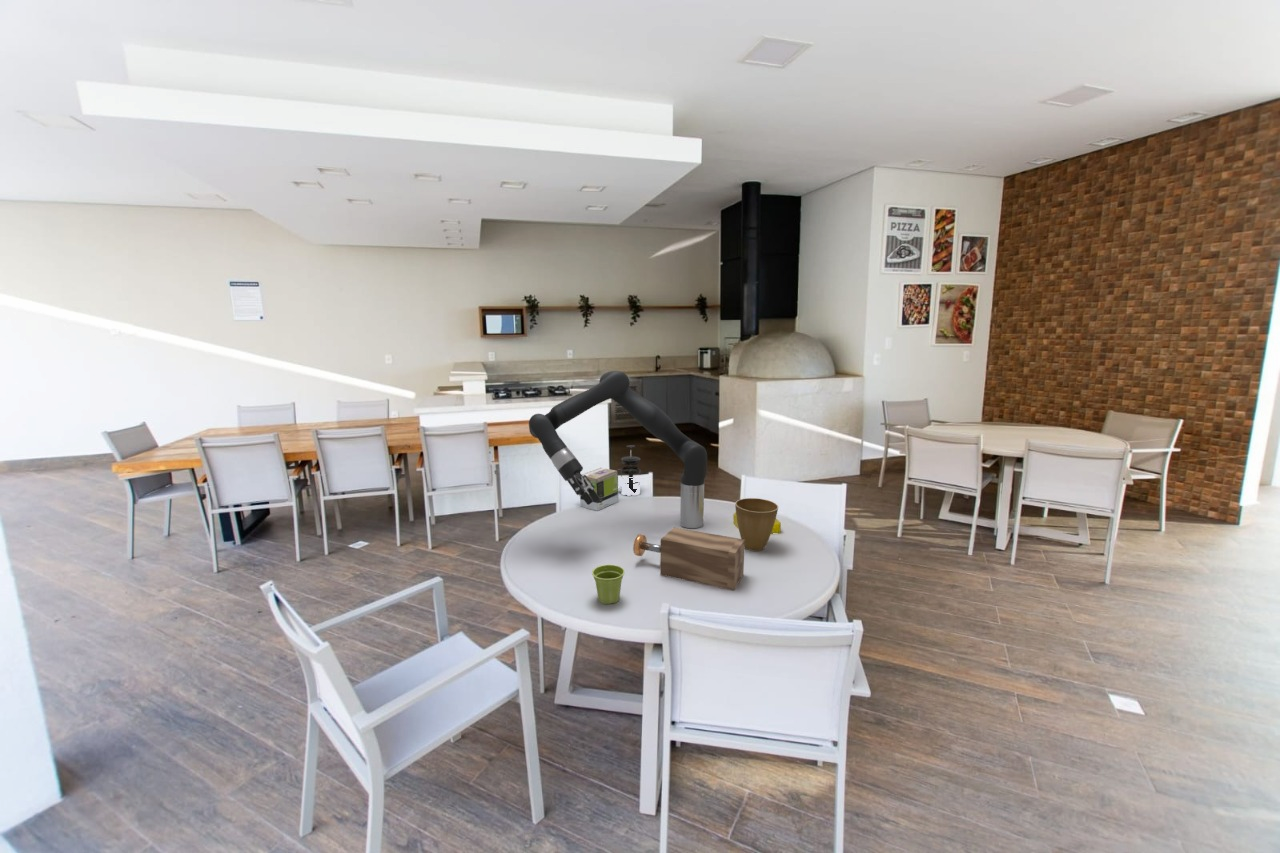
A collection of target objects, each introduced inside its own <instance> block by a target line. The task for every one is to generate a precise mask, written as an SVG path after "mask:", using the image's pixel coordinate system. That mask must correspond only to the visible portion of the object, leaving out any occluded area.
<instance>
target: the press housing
mask: <svg viewBox="0 0 1280 853" xmlns="http://www.w3.org/2000/svg"><path fill="white" fill-rule="evenodd" d="M660 545H661V553H660V560H659V561H660V562H659V563H660V568H659V570H660V576H665V577H671V578H673V579H678V580H684V581H688V582H693V583H698V584H703V585H705V586H706V585H707V586H710V587H711V586H712V587H716V588H721V589H724V590H729V591H734V590H735V589H736V588H737V586H738V584H739V583H740V581H741V579H742V578H743V577H744V567H745V540H744V539H741V538H737V537H731V536H725V535H720V534H715V533H710V532H703V531H699V530H698V531H696V530H692V529H687V528H686V529H685V528H679V527H673V528H671V529H670V530H669V531H668V532H667V533H666V534H664V536H662V538H660Z"/></svg>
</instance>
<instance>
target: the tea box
mask: <svg viewBox="0 0 1280 853" xmlns="http://www.w3.org/2000/svg"><path fill="white" fill-rule="evenodd" d="M581 475H582V476H584V475H586V476H587V478H588V479H589V480H590V482H591V483H592V484H593V486H594V487H595V488H594V489H595V490H594V491H595V492H596V493H597V495H598V496H599V498H600V500H599V501H598V502H596V503H595V502H594V501H593V502H592V503H591V504H589V505H587V504H586V502H585V501H584V499H583V498H582V497H581V496H579V497H580V498H579V499H580V507H581V508H584V509H588V510H592V511H596V512H597V511H600V510H602V509H604V508H607V507H609V506H611V505H613V504H616V503H618V502H619V488H618V486H619V472H618V473H617V469H616V470H615V469H610V468H609V469H608V468H603V467H599V468H596V469H593V470H590V471H587V472H585V473H581ZM589 496H590V495H589ZM592 500H593V499H592Z"/></svg>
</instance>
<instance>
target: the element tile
mask: <svg viewBox="0 0 1280 853" xmlns="http://www.w3.org/2000/svg"><path fill="white" fill-rule="evenodd" d="M732 520H733V521H732V522H733V526H734V525H735V527H736V528H737V529H738V530H739V528H738V523H737V516H736V512H734V513H733V518H732ZM781 523H782V522H781V521H780V520H778V519H777V518H776V519H775V523H774V526H773V529H772V532H771V535H774V534H773V533H778V534H780V533H781V529H782V527H781V525H782V524H781Z"/></svg>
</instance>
